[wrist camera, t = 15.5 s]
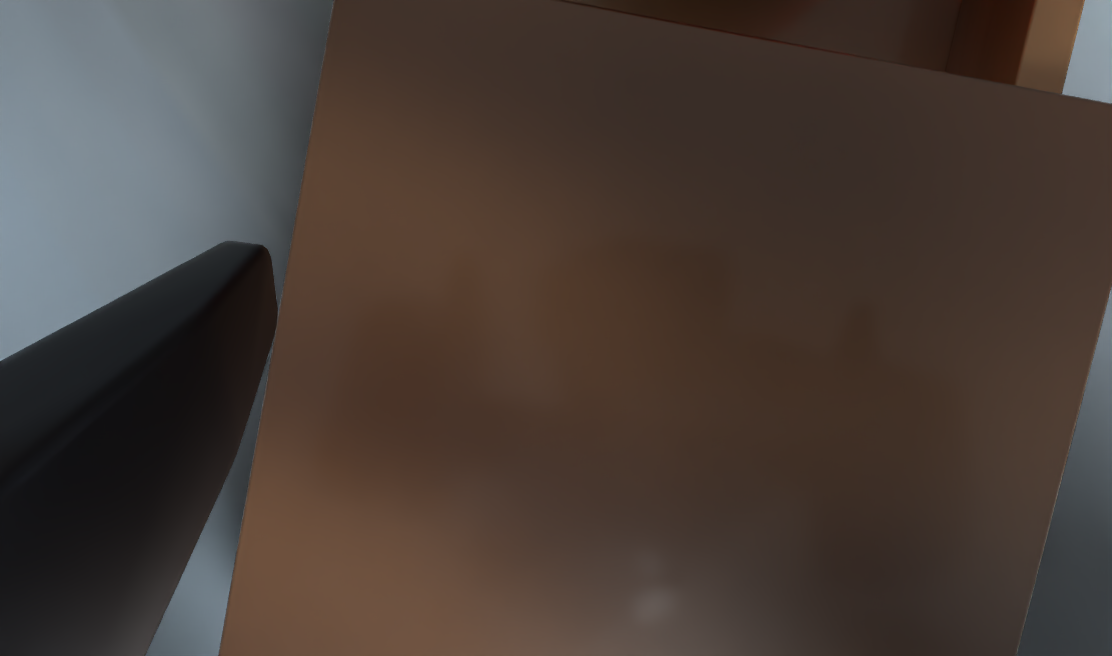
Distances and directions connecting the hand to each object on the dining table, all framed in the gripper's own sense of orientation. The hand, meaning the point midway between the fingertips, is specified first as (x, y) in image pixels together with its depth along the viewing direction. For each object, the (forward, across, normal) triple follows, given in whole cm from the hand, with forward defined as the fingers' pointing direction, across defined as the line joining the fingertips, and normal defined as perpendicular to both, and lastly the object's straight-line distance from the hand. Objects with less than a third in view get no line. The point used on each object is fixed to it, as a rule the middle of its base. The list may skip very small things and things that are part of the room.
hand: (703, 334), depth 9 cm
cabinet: (+8, 0, +10) cm, 13 cm away
